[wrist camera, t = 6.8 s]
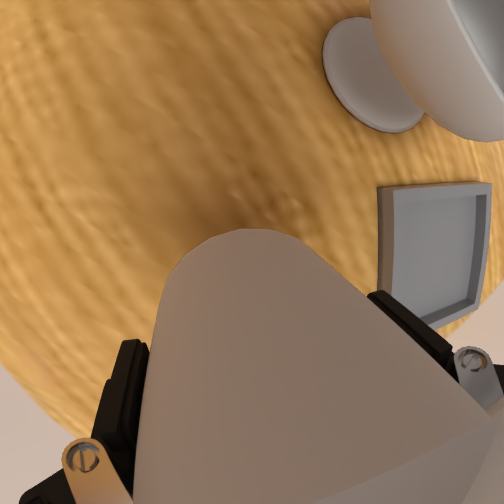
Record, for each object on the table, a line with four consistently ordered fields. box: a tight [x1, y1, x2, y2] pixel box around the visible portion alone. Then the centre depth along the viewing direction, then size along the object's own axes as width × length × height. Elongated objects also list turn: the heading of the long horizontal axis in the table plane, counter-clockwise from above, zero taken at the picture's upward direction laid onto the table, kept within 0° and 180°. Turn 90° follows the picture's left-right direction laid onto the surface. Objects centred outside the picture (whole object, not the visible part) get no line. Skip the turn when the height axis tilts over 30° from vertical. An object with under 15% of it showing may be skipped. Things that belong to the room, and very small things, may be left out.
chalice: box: [322, 0, 504, 142], centre depth 14 cm, size 14×14×15 cm
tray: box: [377, 181, 492, 330], centre depth 26 cm, size 16×16×2 cm
